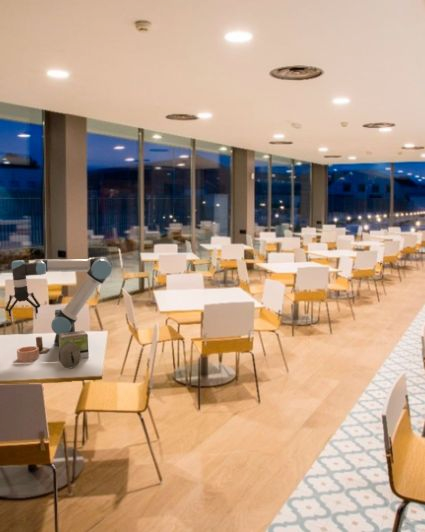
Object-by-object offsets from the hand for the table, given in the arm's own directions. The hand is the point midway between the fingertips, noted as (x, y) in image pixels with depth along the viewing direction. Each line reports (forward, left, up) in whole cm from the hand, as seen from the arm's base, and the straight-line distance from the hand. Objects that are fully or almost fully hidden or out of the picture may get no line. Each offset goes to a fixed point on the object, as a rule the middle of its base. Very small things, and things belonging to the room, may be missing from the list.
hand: (24, 320), depth 334 cm
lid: (-8, +1, -20) cm, 21 cm away
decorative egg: (-34, +32, -20) cm, 51 cm away
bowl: (-5, +14, -20) cm, 25 cm away
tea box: (-32, +14, -21) cm, 41 cm away
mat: (-8, +1, -20) cm, 22 cm away
